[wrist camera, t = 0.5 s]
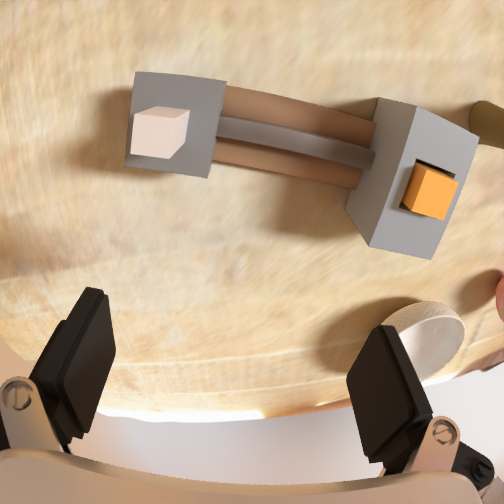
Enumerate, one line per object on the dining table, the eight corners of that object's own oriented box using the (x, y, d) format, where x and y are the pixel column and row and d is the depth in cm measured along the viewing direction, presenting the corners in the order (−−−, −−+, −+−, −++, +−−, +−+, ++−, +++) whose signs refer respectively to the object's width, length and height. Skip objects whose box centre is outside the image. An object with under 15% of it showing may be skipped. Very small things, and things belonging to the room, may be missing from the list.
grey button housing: (378, 97, 30) (416, 106, 22) (435, 120, 31) (479, 137, 23) (343, 213, 37) (366, 252, 30) (397, 226, 38) (428, 264, 30)
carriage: (150, 71, 27) (108, 71, 18) (228, 81, 28) (218, 81, 19) (139, 154, 32) (98, 187, 23) (212, 165, 32) (197, 202, 23)
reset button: (407, 157, 27) (426, 169, 24) (437, 169, 28) (458, 182, 24) (394, 194, 29) (411, 211, 26) (424, 204, 30) (443, 220, 26)
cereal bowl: (368, 371, 53) (378, 402, 47) (345, 314, 46) (357, 349, 40) (449, 334, 49) (465, 361, 43) (444, 268, 42) (466, 297, 36)
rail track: (154, 76, 29) (144, 76, 26) (372, 121, 32) (384, 126, 29) (144, 146, 33) (134, 153, 30) (352, 186, 36) (361, 197, 33)
